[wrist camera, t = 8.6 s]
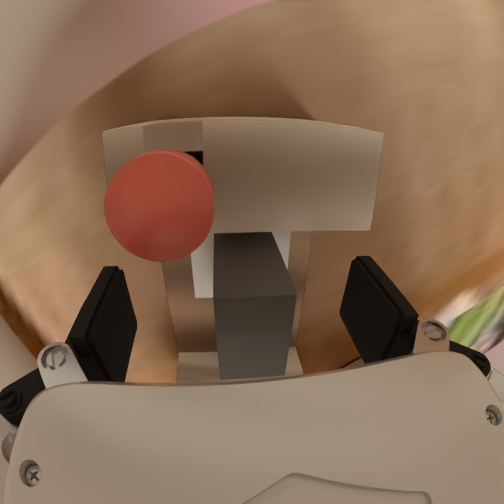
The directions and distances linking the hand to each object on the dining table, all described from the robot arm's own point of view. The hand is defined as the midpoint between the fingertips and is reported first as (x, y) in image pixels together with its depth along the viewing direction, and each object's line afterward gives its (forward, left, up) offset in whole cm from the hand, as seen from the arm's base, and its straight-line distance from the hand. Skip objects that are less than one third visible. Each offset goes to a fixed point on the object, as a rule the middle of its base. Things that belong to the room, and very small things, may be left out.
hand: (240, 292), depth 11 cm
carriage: (0, 0, -7) cm, 7 cm away
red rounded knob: (+4, +2, 0) cm, 5 cm away
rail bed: (-5, 0, -9) cm, 10 cm away
